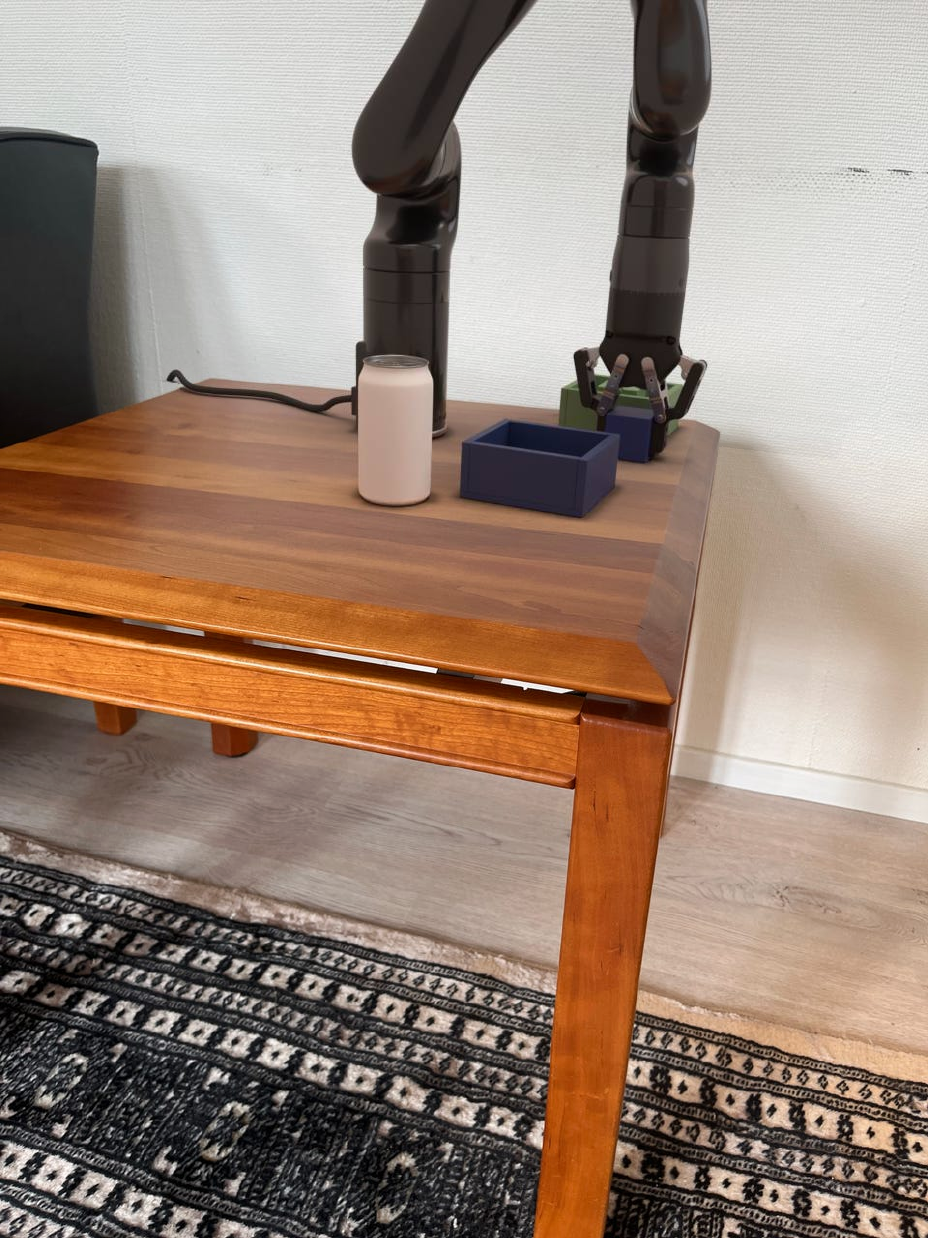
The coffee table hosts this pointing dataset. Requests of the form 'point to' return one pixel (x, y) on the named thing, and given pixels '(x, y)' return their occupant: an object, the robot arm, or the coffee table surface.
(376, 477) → the can
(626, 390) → the sage block
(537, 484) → the navy bin
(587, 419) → the sage bin
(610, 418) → the navy block
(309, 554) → the coffee table surface
